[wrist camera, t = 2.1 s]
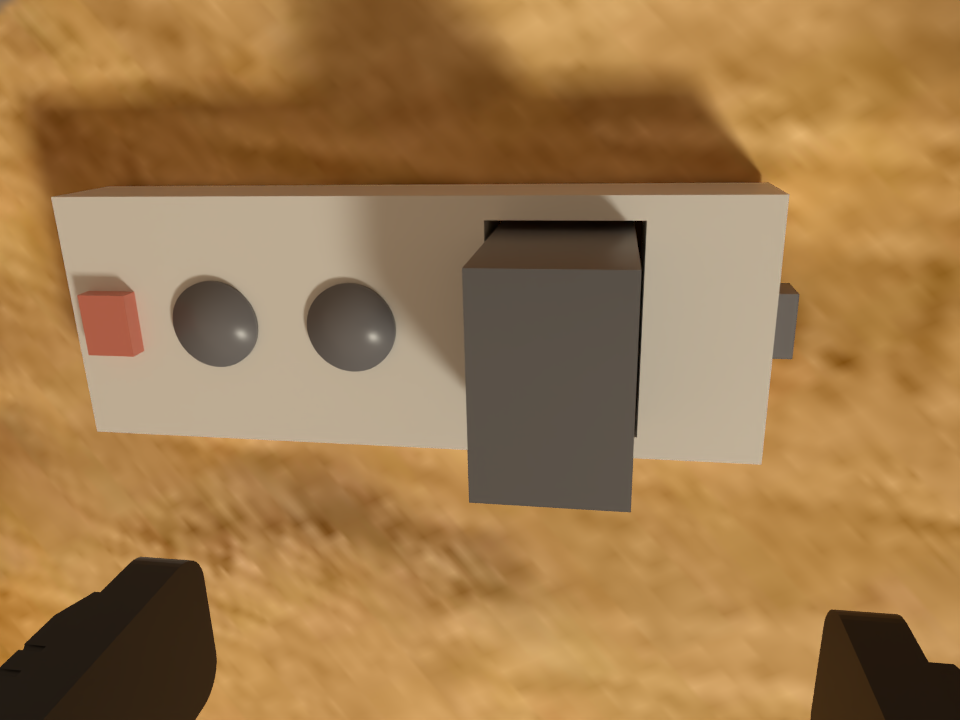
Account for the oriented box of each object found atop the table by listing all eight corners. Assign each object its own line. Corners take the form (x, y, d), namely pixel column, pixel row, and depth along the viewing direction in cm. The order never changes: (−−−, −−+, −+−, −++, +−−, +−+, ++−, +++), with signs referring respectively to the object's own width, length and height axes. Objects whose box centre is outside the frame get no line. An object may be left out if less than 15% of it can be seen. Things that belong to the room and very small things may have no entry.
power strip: (796, 182, 24) (826, 197, 20) (770, 425, 26) (793, 475, 23) (109, 186, 27) (38, 199, 24) (145, 399, 30) (86, 438, 26)
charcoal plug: (633, 215, 25) (641, 270, 17) (626, 393, 26) (630, 512, 19) (507, 215, 25) (461, 268, 18) (509, 389, 27) (469, 502, 20)
